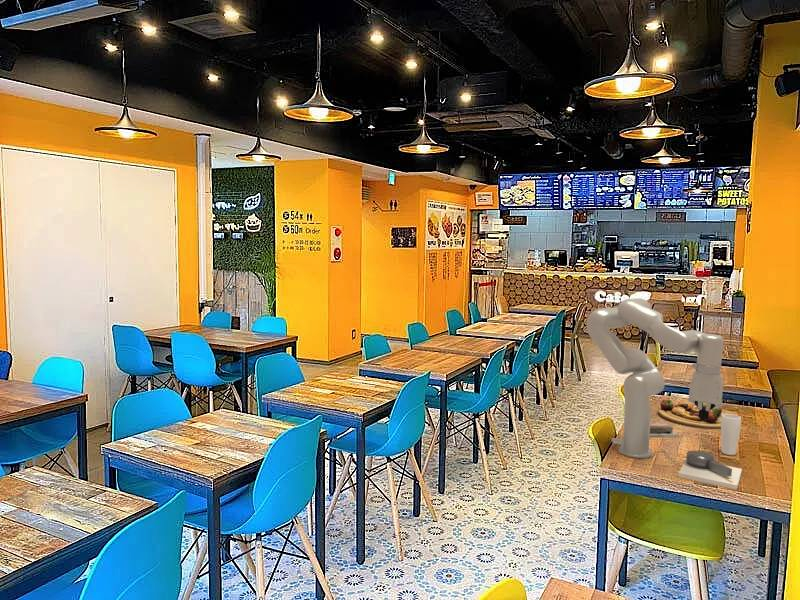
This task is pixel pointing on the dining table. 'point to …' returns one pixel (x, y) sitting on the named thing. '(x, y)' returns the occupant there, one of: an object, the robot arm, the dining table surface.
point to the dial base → (711, 476)
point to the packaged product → (661, 430)
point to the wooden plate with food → (689, 415)
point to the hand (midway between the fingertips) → (703, 420)
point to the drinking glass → (730, 433)
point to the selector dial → (706, 462)
